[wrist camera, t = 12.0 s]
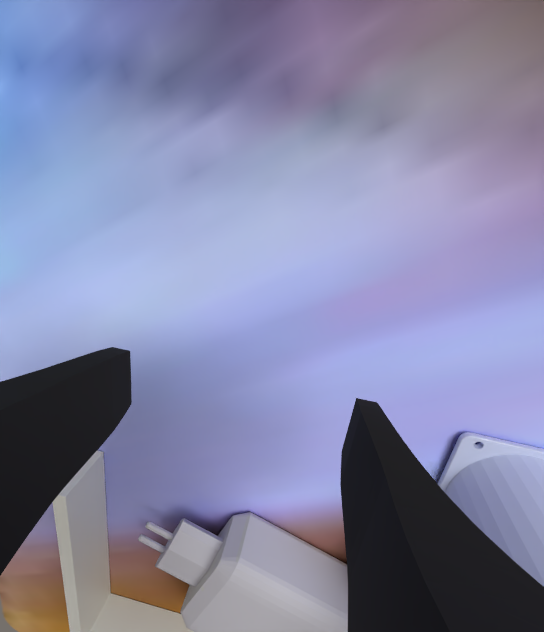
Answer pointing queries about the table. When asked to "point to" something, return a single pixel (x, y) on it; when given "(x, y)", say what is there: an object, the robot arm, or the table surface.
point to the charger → (253, 578)
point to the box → (97, 562)
